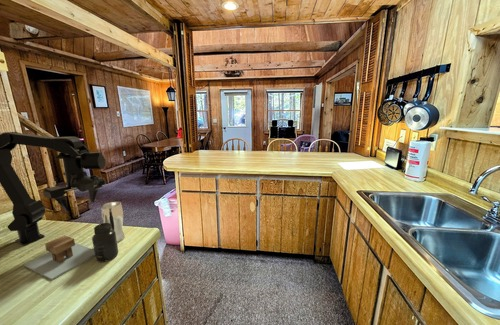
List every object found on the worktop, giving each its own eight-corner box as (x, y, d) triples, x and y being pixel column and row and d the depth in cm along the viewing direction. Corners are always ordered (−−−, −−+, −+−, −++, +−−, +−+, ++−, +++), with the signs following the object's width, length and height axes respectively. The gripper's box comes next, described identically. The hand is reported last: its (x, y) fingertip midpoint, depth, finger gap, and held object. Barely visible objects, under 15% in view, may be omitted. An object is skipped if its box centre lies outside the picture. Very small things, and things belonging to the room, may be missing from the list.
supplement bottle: (105, 249, 78) (100, 220, 75) (122, 250, 77) (118, 221, 75) (90, 262, 71) (85, 230, 68) (109, 263, 71) (105, 231, 68)
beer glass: (116, 245, 80) (111, 209, 77) (101, 242, 82) (95, 207, 78) (129, 235, 87) (125, 202, 84) (115, 233, 88) (111, 200, 85)
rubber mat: (23, 266, 69) (23, 264, 68) (72, 242, 81) (72, 241, 81) (52, 280, 63) (51, 278, 63) (99, 253, 76) (99, 251, 75)
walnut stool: (48, 260, 70) (44, 243, 69) (67, 251, 75) (64, 235, 74) (58, 265, 68) (54, 247, 67) (77, 255, 73) (74, 238, 72)
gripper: (55, 178, 69) (63, 221, 72) (111, 166, 86) (116, 201, 89) (38, 174, 73) (46, 214, 77) (94, 163, 90) (99, 197, 93)
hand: (80, 206), depth 84 cm, fingers open, 9 cm apart
